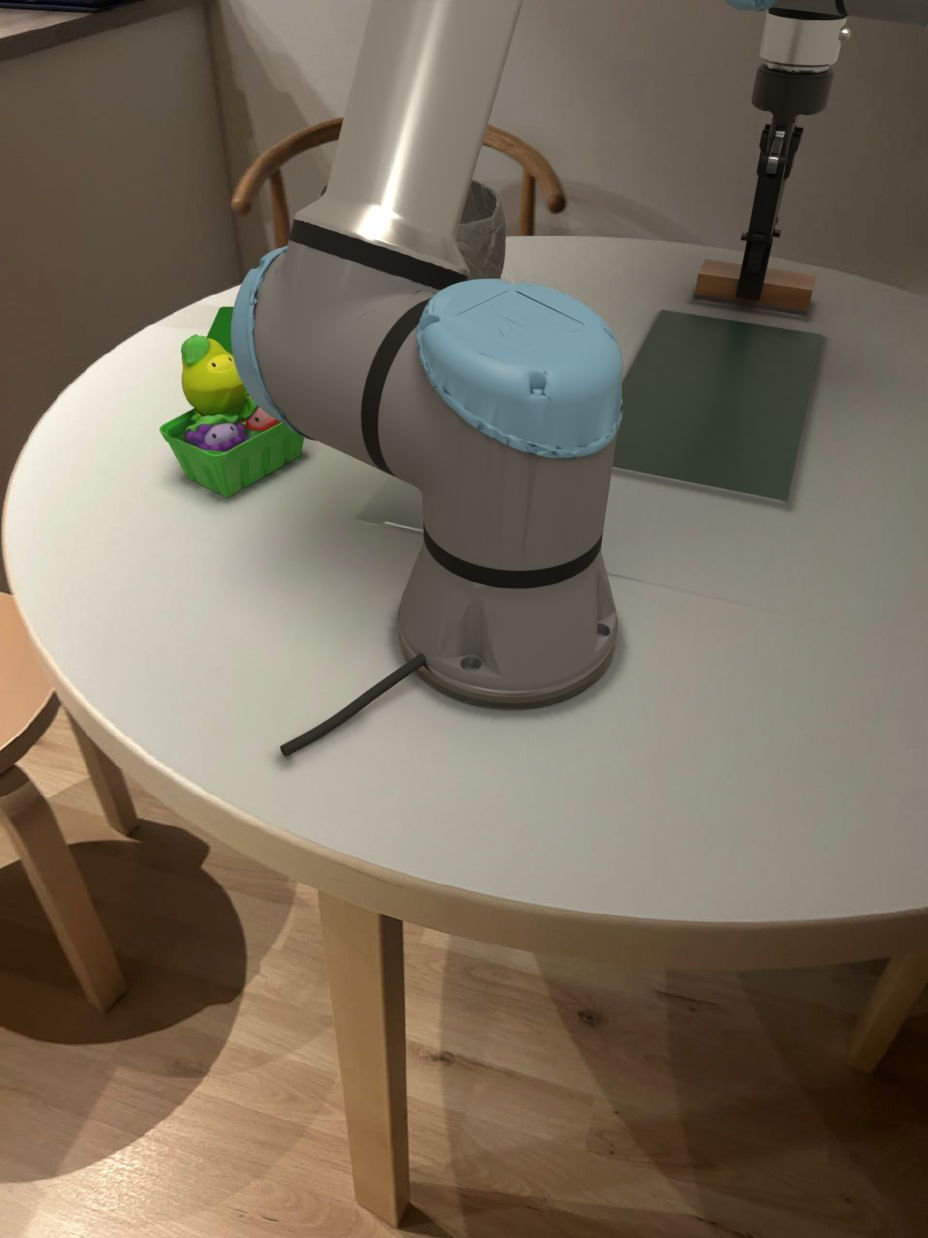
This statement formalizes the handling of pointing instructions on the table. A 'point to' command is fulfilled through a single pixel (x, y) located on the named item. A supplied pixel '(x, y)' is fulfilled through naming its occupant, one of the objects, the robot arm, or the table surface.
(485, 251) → the bowl
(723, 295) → the board eraser
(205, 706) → the table surface
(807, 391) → the chalkboard
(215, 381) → the fruit basket
